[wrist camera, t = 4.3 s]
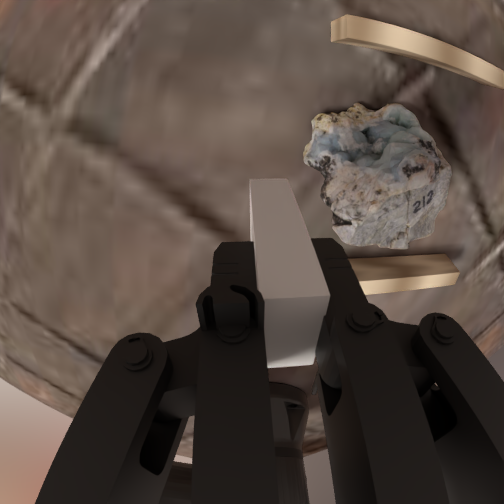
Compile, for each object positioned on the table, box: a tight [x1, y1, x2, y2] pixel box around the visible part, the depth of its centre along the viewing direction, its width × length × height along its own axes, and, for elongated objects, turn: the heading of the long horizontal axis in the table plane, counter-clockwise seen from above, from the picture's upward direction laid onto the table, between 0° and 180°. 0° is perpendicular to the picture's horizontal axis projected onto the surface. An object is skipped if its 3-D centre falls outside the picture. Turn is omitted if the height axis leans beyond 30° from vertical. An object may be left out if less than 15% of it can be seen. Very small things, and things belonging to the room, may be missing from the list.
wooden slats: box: [331, 15, 504, 295], centre depth 18 cm, size 14×20×3 cm
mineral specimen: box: [303, 103, 452, 249], centre depth 17 cm, size 10×8×10 cm
